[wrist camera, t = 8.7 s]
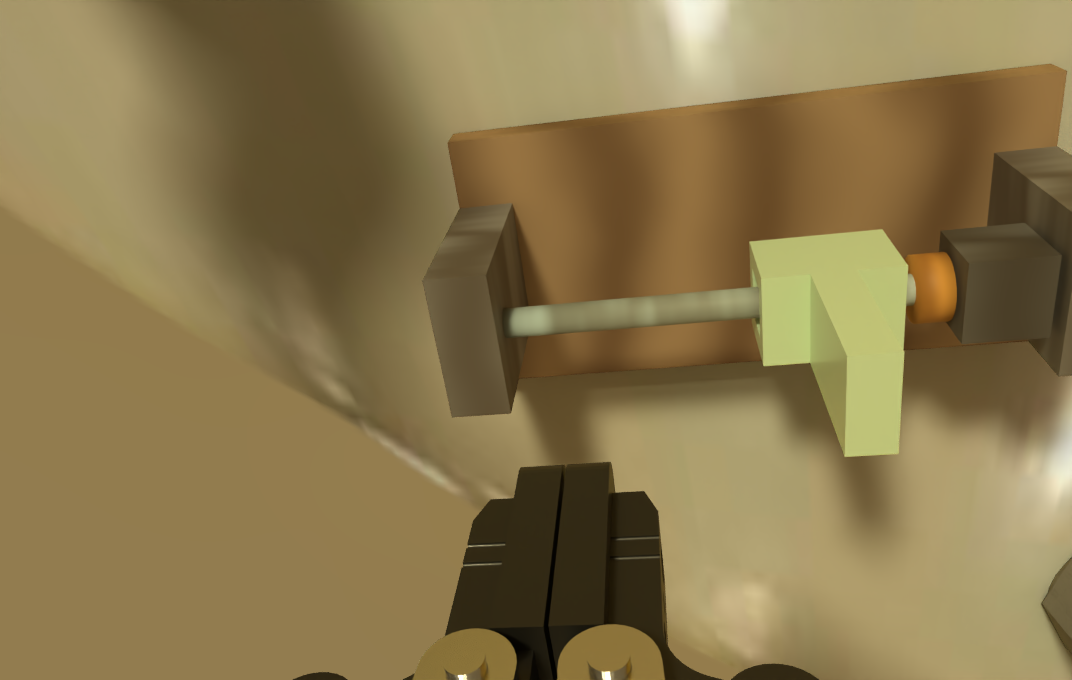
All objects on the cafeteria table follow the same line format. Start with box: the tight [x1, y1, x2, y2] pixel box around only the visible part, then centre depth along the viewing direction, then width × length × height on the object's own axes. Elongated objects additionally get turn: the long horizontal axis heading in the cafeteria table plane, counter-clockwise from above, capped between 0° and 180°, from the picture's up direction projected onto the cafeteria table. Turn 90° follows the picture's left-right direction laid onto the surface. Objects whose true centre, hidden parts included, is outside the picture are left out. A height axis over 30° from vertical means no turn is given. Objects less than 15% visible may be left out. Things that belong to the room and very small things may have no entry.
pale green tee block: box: [749, 229, 908, 457], centre depth 31 cm, size 5×4×10 cm
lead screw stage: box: [423, 64, 1072, 417], centre depth 36 cm, size 25×12×10 cm, turn 98°
